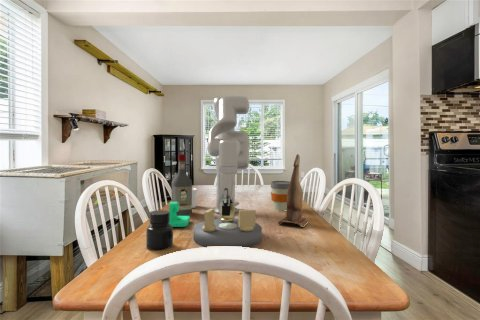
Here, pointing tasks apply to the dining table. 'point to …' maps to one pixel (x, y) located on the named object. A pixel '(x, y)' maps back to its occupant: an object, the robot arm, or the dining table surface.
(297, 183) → the bird sculpture
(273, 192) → the reusable coffee cup
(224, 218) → the footscrew knob
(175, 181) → the liquor
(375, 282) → the dining table surface
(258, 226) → the tribrach base
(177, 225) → the camera mount
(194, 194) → the white cup
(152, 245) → the ink bottle
